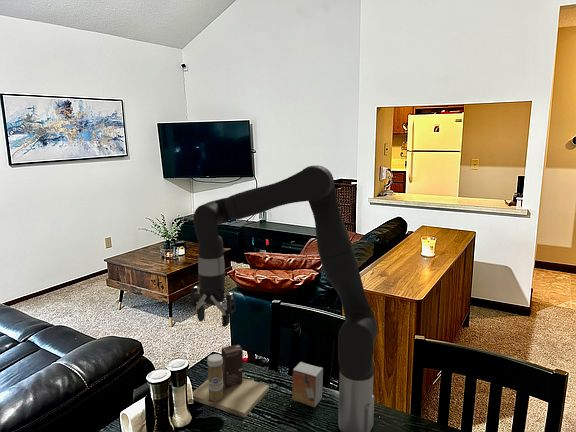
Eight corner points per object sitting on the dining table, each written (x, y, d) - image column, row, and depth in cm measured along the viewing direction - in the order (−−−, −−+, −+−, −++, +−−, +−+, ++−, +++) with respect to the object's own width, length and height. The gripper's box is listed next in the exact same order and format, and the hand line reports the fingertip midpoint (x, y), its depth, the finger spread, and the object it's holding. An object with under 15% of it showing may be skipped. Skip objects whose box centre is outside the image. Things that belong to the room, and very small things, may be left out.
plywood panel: (269, 389, 136) (269, 385, 135) (245, 417, 122) (244, 412, 122) (217, 374, 144) (217, 370, 144) (189, 399, 131) (189, 394, 131)
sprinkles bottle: (210, 403, 126) (209, 362, 124) (207, 394, 131) (205, 355, 128) (225, 399, 128) (224, 359, 126) (221, 391, 132) (220, 352, 130)
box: (225, 388, 134) (225, 353, 132) (221, 380, 138) (220, 347, 135) (243, 383, 137) (243, 349, 134) (238, 376, 141) (238, 343, 138)
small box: (291, 400, 131) (292, 369, 129) (299, 390, 135) (300, 361, 133) (315, 408, 127) (315, 376, 125) (322, 398, 132) (323, 367, 130)
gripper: (239, 270, 122) (240, 322, 125) (199, 264, 128) (201, 313, 131) (224, 278, 115) (226, 333, 118) (183, 271, 121) (186, 323, 124)
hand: (213, 322), depth 125 cm, fingers open, 8 cm apart
